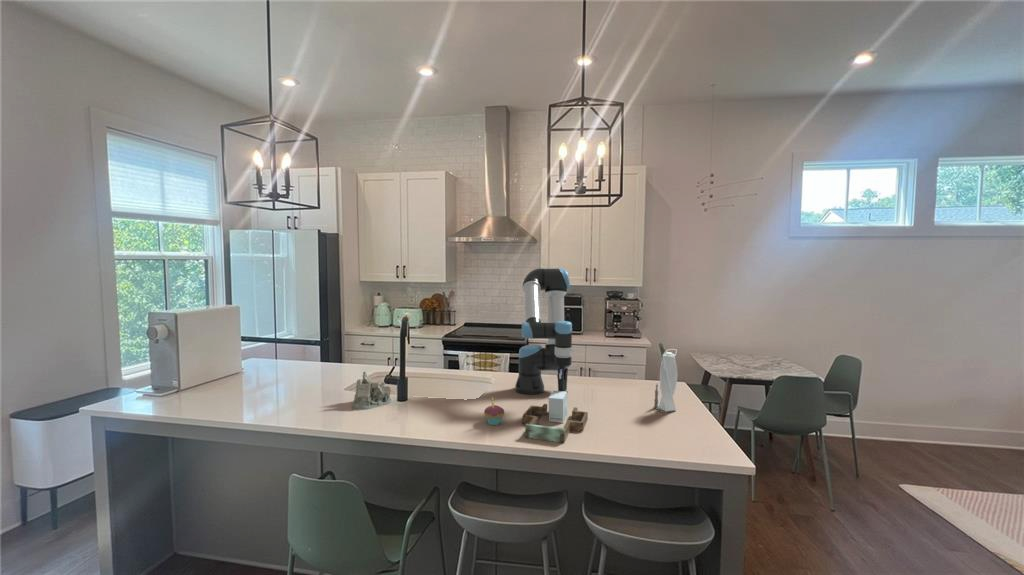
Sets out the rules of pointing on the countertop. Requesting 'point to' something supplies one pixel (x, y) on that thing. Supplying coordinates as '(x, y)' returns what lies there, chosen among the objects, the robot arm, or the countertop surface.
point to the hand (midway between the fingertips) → (562, 407)
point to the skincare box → (558, 406)
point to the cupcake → (494, 414)
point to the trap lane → (551, 432)
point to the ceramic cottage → (370, 394)
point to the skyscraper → (667, 382)
